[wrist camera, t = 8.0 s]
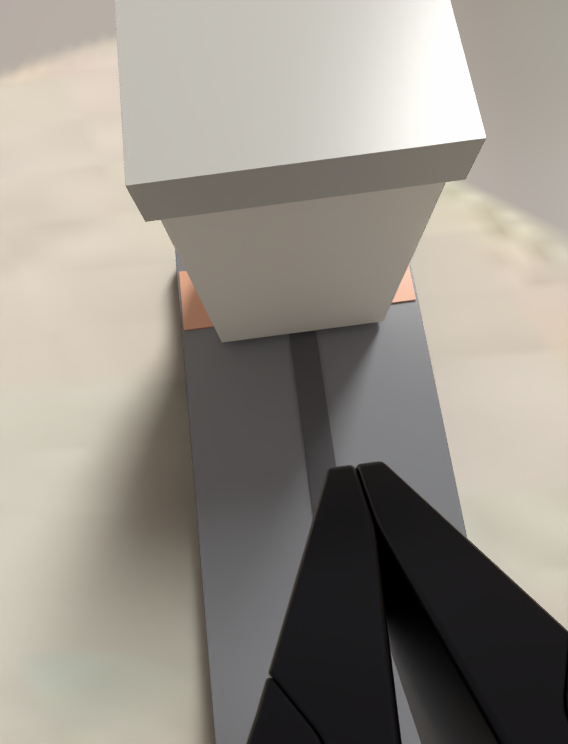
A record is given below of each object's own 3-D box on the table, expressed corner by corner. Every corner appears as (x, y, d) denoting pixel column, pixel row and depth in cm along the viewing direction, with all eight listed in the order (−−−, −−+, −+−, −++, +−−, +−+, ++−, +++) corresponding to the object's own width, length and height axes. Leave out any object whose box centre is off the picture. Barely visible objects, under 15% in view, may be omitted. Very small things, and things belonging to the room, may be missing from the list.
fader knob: (390, 328, 19) (486, 137, 9) (217, 351, 19) (125, 185, 9) (369, 217, 20) (434, -60, 10) (206, 238, 20) (113, -17, 10)
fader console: (502, 774, 17) (522, 801, 15) (230, 810, 17) (223, 840, 15) (393, 230, 22) (400, 209, 20) (182, 258, 22) (173, 239, 20)
